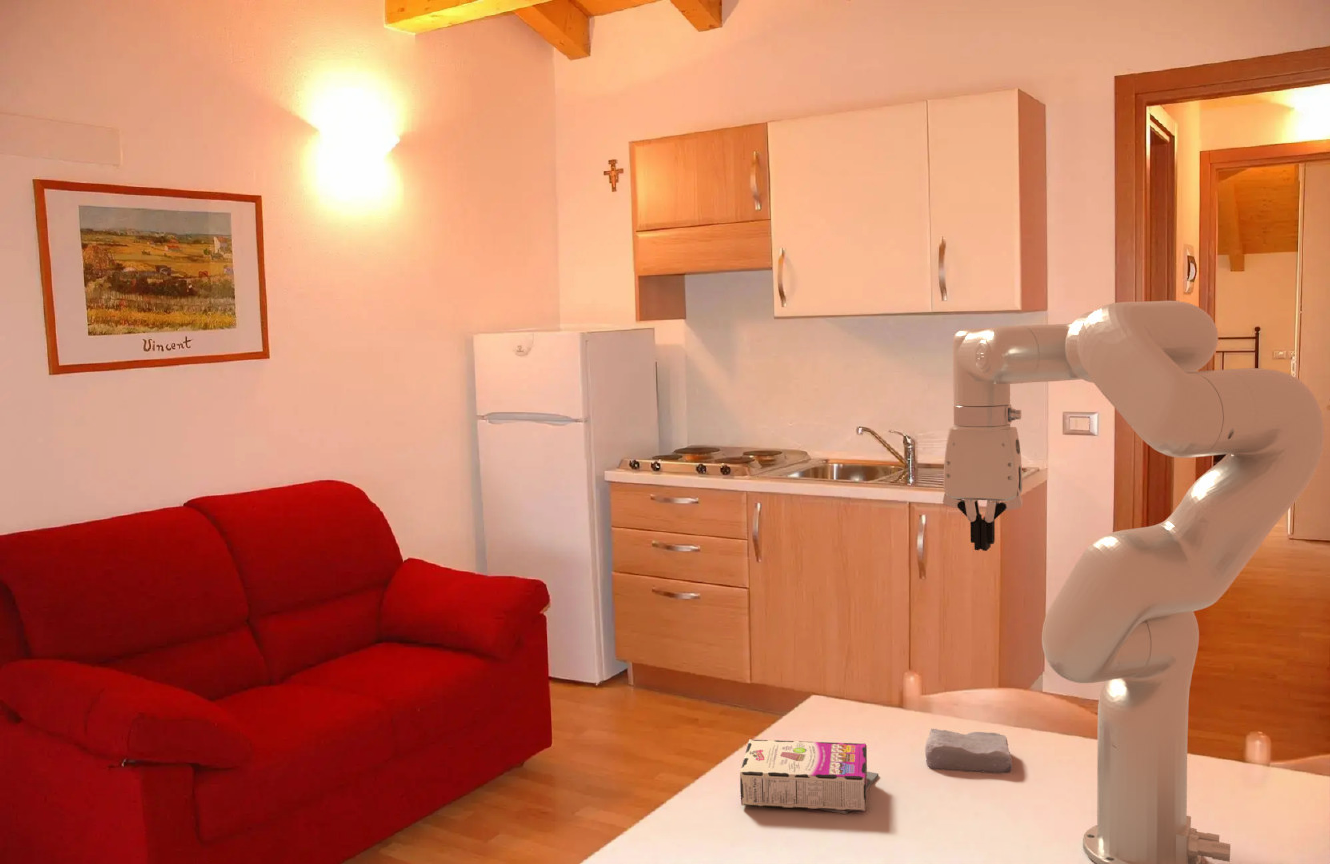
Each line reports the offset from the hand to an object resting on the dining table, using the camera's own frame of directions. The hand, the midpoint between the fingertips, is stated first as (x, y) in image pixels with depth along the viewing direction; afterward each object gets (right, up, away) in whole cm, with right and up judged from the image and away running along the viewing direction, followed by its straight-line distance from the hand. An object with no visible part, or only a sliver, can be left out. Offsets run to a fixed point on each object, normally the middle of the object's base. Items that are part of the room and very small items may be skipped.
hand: (982, 548), depth 150 cm
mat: (-24, -32, -2) cm, 40 cm away
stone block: (-1, -31, +5) cm, 32 cm away
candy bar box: (-17, -30, -7) cm, 35 cm away
